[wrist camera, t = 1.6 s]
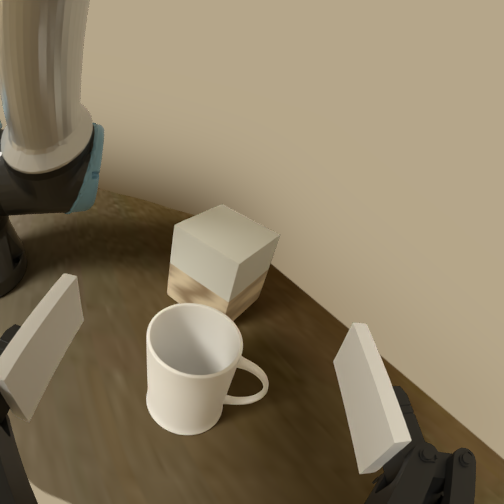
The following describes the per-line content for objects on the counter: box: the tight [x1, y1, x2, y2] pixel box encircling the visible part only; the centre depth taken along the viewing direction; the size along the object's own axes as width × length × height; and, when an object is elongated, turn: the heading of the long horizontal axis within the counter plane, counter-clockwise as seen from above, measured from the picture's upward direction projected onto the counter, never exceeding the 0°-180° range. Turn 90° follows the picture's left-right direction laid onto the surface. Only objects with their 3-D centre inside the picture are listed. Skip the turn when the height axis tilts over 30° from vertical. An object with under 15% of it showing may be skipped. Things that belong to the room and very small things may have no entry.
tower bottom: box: [167, 263, 268, 321], centre depth 45 cm, size 10×10×6 cm
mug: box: [146, 303, 269, 435], centre depth 28 cm, size 12×8×12 cm
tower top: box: [170, 204, 280, 302], centre depth 42 cm, size 10×10×6 cm
